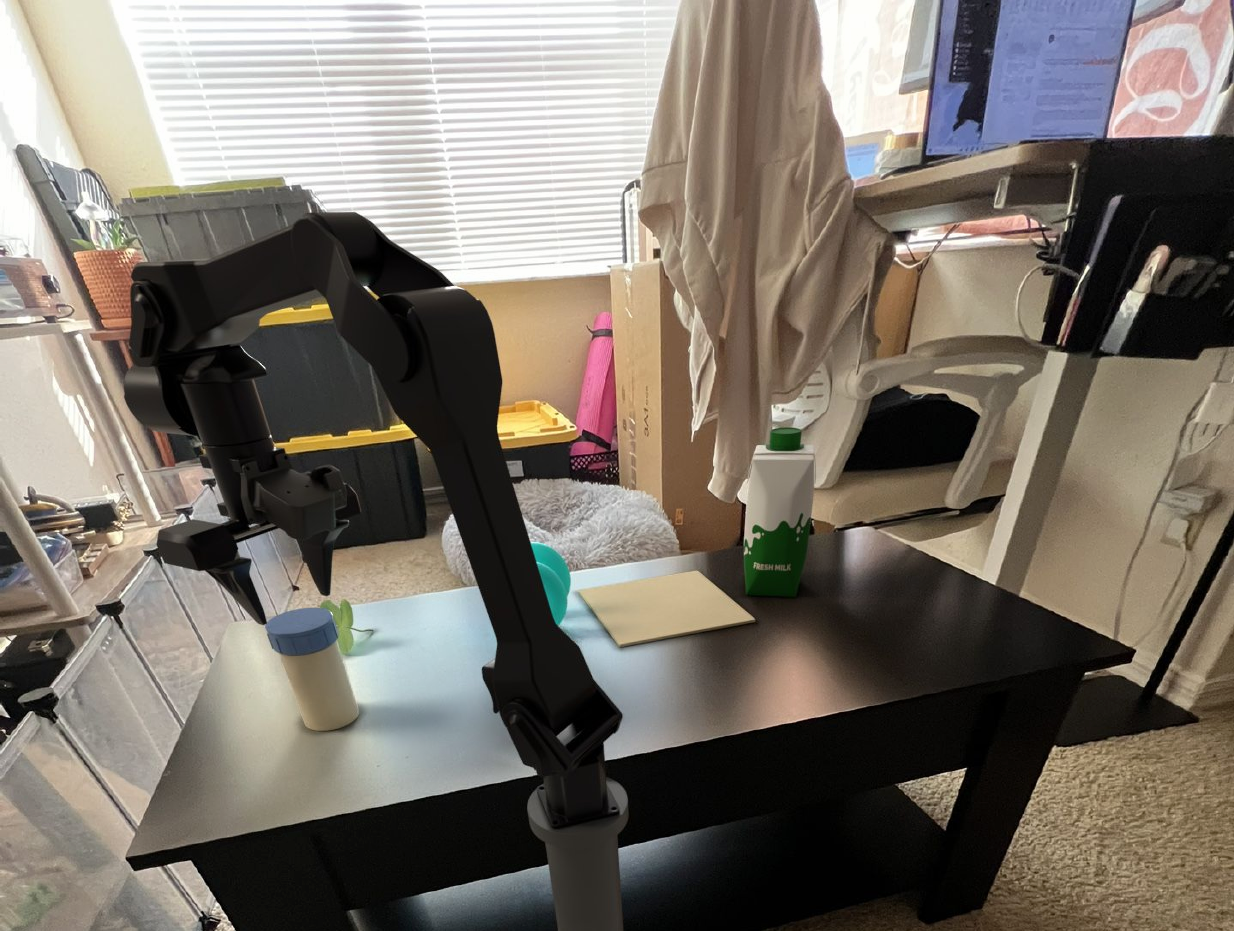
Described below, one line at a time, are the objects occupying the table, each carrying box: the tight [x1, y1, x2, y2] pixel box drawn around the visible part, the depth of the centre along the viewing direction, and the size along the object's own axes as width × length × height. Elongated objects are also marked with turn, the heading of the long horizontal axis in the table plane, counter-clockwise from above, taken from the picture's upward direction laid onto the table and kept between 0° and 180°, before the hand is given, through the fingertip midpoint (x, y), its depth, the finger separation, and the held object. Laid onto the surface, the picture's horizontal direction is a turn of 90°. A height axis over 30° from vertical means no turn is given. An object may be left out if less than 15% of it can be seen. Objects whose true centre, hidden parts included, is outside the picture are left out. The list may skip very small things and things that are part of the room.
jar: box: [277, 640, 360, 732], centre depth 78 cm, size 6×6×11 cm
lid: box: [264, 607, 339, 655], centre depth 75 cm, size 7×7×2 cm
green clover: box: [319, 599, 374, 656], centre depth 97 cm, size 7×8×7 cm
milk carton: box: [743, 426, 817, 598], centre depth 99 cm, size 9×9×20 cm
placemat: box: [577, 570, 757, 648], centre depth 101 cm, size 20×19×1 cm
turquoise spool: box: [530, 541, 572, 627], centre depth 95 cm, size 10×10×10 cm
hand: (295, 609), depth 74 cm, fingers open, 8 cm apart
